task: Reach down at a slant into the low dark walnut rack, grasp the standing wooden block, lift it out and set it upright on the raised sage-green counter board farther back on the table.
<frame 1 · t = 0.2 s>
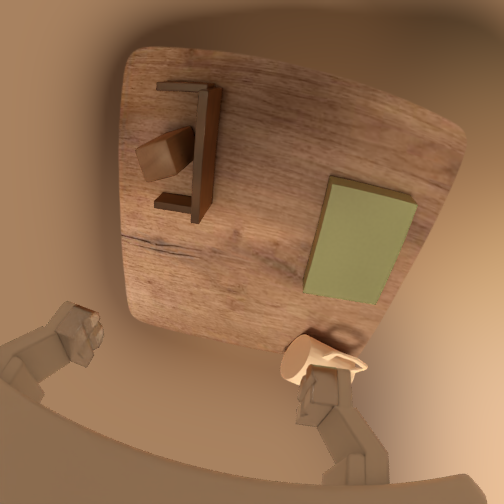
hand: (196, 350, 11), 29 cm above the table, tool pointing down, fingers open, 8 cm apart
walnut rack: (181, 144, 36), on the table
counter board: (355, 240, 40), on the table
cup: (300, 353, 46), point 5 cm above the table
wooden block: (182, 143, 36), on the table
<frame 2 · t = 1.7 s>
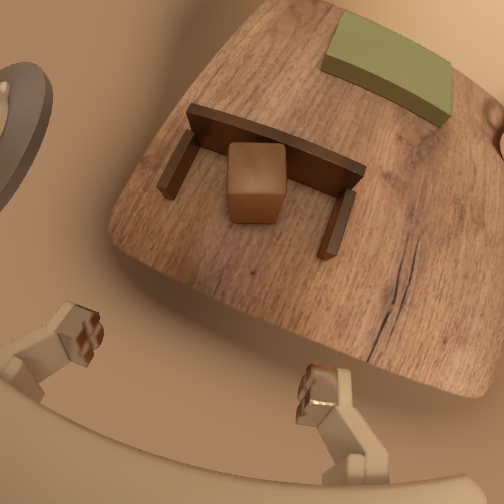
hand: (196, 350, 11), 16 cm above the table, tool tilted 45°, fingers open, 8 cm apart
walnut rack: (254, 202, 28), on the table
counter board: (389, 70, 31), on the table
wooden block: (254, 203, 28), on the table
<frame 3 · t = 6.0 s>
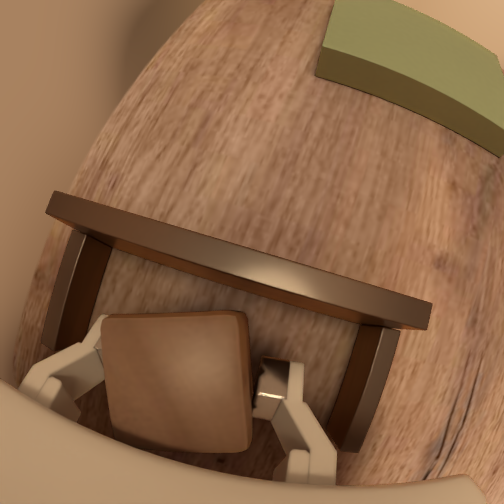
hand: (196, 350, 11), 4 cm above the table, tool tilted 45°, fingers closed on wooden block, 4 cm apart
walnut rack: (210, 352, 15), on the table
counter board: (418, 68, 19), on the table
wooden block: (211, 351, 15), on the table, touching gripper
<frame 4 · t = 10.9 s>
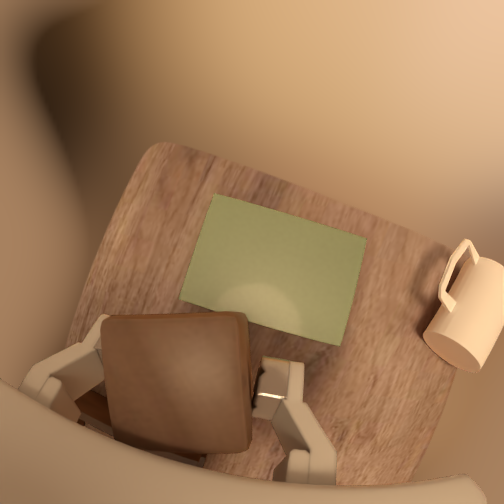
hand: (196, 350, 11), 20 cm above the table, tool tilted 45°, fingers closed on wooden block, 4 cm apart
walnut rack: (136, 445, 28), on the table
counter board: (274, 272, 32), on the table
cup: (444, 345, 26), point 5 cm above the table
wooden block: (211, 352, 15), point 16 cm above the table, touching gripper
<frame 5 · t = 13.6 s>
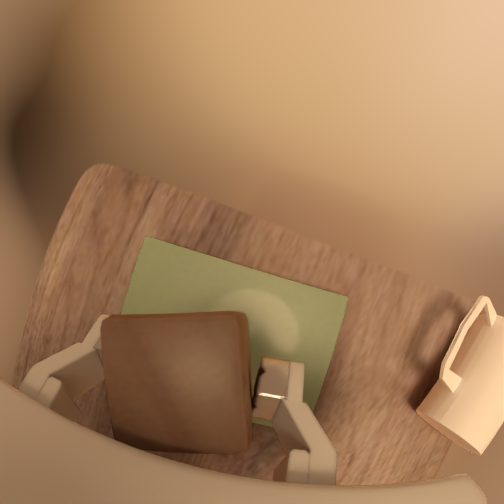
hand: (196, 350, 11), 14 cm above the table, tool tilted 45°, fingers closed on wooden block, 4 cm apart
counter board: (225, 336, 24), on the table
cup: (439, 429, 18), point 5 cm above the table
wooden block: (211, 351, 15), point 9 cm above the table, touching gripper
when the fingers open (7 cm above the table, at t = 15.8 s): wooden block stays where it is, resting on counter board.
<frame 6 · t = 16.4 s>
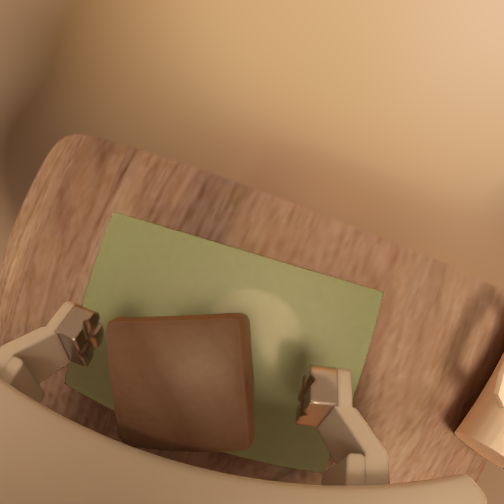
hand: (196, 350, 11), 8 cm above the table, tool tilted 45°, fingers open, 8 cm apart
counter board: (218, 345, 18), on the table
cup: (485, 453, 12), point 5 cm above the table
wooden block: (213, 352, 15), point 3 cm above the table, touching counter board
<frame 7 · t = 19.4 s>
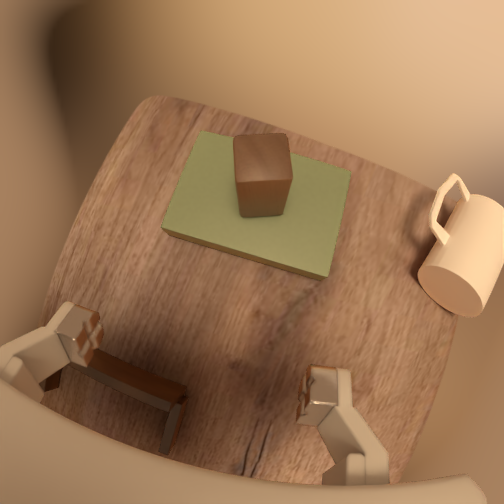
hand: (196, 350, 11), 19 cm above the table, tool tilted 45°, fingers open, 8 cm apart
walnut rack: (111, 396, 27), on the table
counter board: (259, 206, 31), on the table
cup: (440, 282, 25), point 5 cm above the table
wooden block: (260, 197, 29), point 3 cm above the table, touching counter board
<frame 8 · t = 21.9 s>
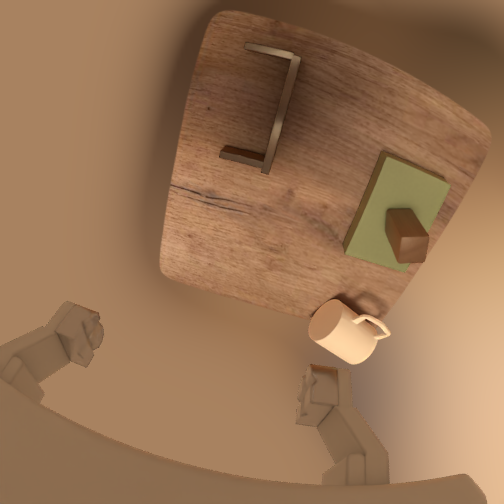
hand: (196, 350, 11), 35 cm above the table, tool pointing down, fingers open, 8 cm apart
walnut rack: (254, 102, 37), on the table
counter board: (393, 211, 43), on the table
cup: (332, 315, 49), point 5 cm above the table
wooden block: (397, 219, 40), point 3 cm above the table, touching counter board
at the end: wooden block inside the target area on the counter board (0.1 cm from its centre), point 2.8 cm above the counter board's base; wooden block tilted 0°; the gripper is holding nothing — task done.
